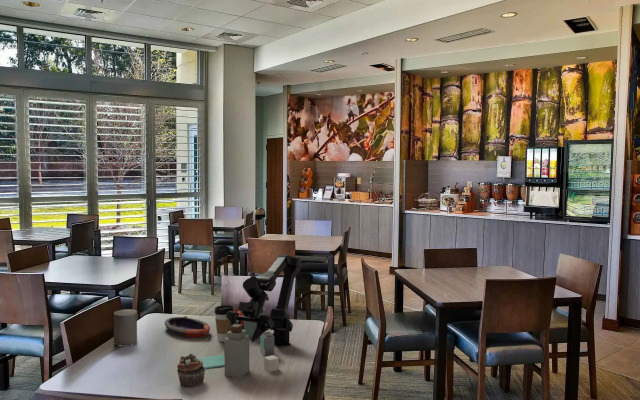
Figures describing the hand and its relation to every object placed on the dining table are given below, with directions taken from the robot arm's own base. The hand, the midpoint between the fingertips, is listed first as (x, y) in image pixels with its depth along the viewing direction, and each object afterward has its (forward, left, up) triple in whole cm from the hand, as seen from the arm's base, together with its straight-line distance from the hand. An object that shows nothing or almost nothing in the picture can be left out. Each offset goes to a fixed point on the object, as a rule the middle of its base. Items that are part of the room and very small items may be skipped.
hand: (241, 339), depth 195 cm
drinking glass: (-15, -40, -12) cm, 44 cm away
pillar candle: (+40, -50, -12) cm, 65 cm away
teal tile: (+8, -12, -12) cm, 18 cm away
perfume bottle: (+2, +2, -12) cm, 12 cm away
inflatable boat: (+13, -55, -12) cm, 58 cm away
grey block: (-11, +3, -12) cm, 16 cm away
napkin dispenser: (-14, -13, -12) cm, 22 cm away
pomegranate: (-10, -54, -12) cm, 56 cm away
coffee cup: (-1, -38, -12) cm, 39 cm away
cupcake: (+19, +5, -12) cm, 23 cm away
